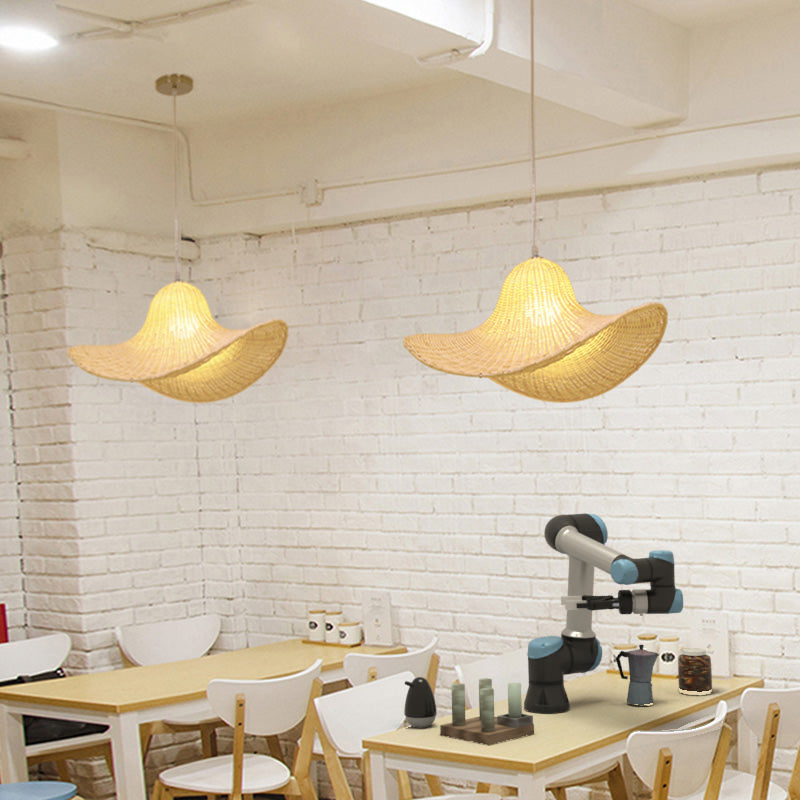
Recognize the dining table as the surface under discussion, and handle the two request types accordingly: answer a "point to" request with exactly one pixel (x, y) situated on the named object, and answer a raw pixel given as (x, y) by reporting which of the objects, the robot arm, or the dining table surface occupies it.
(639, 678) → the moka pot
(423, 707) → the pump dispenser
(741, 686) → the dining table surface
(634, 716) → the dining table surface
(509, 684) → the green leg
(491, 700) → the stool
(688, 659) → the jar
